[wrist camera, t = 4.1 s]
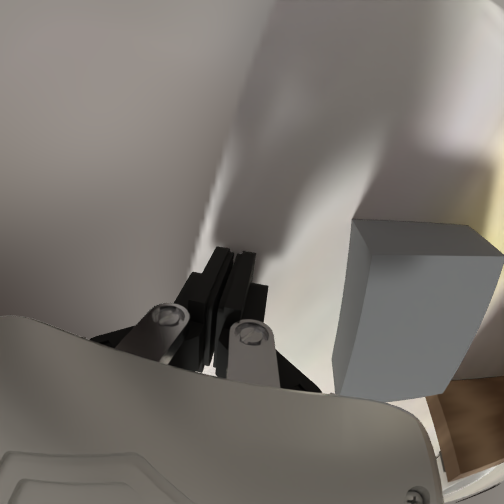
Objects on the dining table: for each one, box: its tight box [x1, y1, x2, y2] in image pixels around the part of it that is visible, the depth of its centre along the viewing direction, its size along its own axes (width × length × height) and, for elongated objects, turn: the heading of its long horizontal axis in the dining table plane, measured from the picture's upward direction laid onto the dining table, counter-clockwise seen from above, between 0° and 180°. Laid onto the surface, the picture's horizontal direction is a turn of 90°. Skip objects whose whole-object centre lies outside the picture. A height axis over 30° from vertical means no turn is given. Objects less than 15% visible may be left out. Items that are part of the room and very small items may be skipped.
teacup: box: [437, 456, 497, 496], centre depth 18 cm, size 10×8×5 cm
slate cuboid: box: [332, 219, 504, 402], centre depth 11 cm, size 6×8×4 cm
